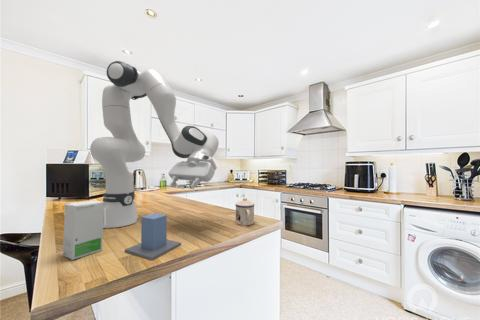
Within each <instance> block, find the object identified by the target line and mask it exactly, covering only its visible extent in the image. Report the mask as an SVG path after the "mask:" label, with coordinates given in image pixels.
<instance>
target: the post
mask: <svg viewBox="0 0 480 320" xmlns="http://www.w3.org/2000/svg"><path fill="white" fill-rule="evenodd" d="M180 246H182V242H180V241H175V240H171V239H168V238H167V239H166V245H164V246H162V247H160V248H158V249H156V250H154V251H152V250H148V249H145V248H141V242H140V243H137V244H135V245H132V246H130V247H128V248H126V249H124V253H127V254H130V255H134V256H136V257H140V258H143V259H146V260H149V261H154V260H156V259H158V258H159V257H161V256H163V255H165V254H167V253H169V252H170V251H172V250H174V249H176V248H178V247H180Z"/></svg>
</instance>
